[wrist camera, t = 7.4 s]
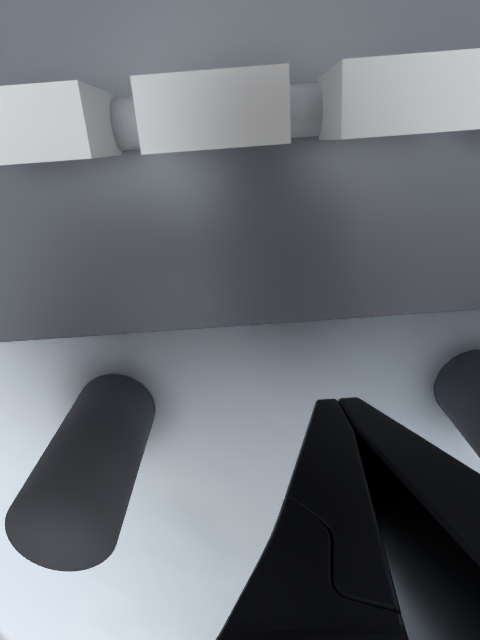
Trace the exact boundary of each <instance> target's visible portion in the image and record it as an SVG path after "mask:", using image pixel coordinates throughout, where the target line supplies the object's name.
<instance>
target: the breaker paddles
mask: <svg viewBox="0 0 480 640" xmlns="http://www.w3.org/2000/svg"><path fill="white" fill-rule="evenodd" d="M130 80H131V87H132V94H133V97H124V98H113V94H112V93H109V92H107V91H104V90H102V89H99V88H97V87H94V86H92V85H89V84H87V83H84V82H81V81H79V80H68V81H56V82H43V83H30V84H18V85H5V86H0V165H13V164H27V163H40V162H53V161H66V160H79V159H92V158H101V157H110V156H119V155H122V151H128V150H141V155H146V154H159V153H172V152H185V151H198V150H212V149H225V148H238V147H251V146H264V145H278V144H291V138H299V137H312V136H319V140H344V139H357V138H370V137H383V136H397V135H410V134H423V133H436V132H449V131H463V130H476V129H480V48H475V49H462V50H449V51H437V52H424V53H411V54H399V55H386V56H373V57H360V58H348V59H342V60H341V61H339V62H338V63H337V64H335V65H334V66H333V67H332V68H330V69H329V70H328V71H326V72H325V73H324V74H323V75H321V76H320V77H319V78H318V82H316V83H304V84H291V85H290V80H289V63H284V64H272V65H259V66H246V67H233V68H221V69H208V70H195V71H183V72H170V73H157V74H145V75H132V76H130Z"/></svg>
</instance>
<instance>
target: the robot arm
mask: <svg viewBox="0 0 480 640" xmlns="http://www.w3.org/2000/svg"><path fill="white" fill-rule="evenodd" d="M216 640H480V474H479V473H478V472H476V471H474V470H473V469H471V468H470V467H468V466H466V465H465V464H463V463H462V462H460V461H458V460H457V459H455V458H454V457H452V456H450V455H449V454H447V453H446V452H444V451H442V450H441V449H439V448H438V447H436V446H435V445H433V444H431V443H430V442H428V441H427V440H425V439H423V438H422V437H420V436H419V435H417V434H415V433H414V432H412V431H411V430H409V429H407V428H406V427H404V426H403V425H401V424H399V423H398V422H396V421H395V420H393V419H391V418H390V417H388V416H387V415H385V414H384V413H382V412H380V411H379V410H377V409H376V408H374V407H372V406H371V405H369V404H368V403H366V402H364V401H363V400H361V399H359V398H357V397H353V398H341V399H339V400H338V401H337V400H336V399H322V400H317V401H316V403H315V406H314V409H313V412H312V415H311V418H310V422H309V425H308V428H307V431H306V434H305V437H304V440H303V443H302V446H301V449H300V452H299V455H298V458H297V462H296V465H295V468H294V471H293V474H292V477H291V480H290V483H289V486H288V489H287V492H286V495H285V499H284V501H283V504H282V507H281V510H280V513H279V516H278V518H277V521H276V523H275V526H274V529H273V531H272V534H271V536H270V538H269V541H268V543H267V545H266V547H265V549H264V551H263V553H262V555H261V557H260V559H259V561H258V563H257V565H256V567H255V569H254V571H253V572H252V574H251V576H250V578H249V580H248V582H247V584H246V586H245V587H244V589H243V591H242V593H241V595H240V597H239V599H238V601H237V602H236V604H235V606H234V608H233V610H232V612H231V614H230V616H229V617H228V619H227V621H226V623H225V625H224V627H223V628H222V630H221V632H220V634H219V635H218V637H217V638H216Z"/></svg>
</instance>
